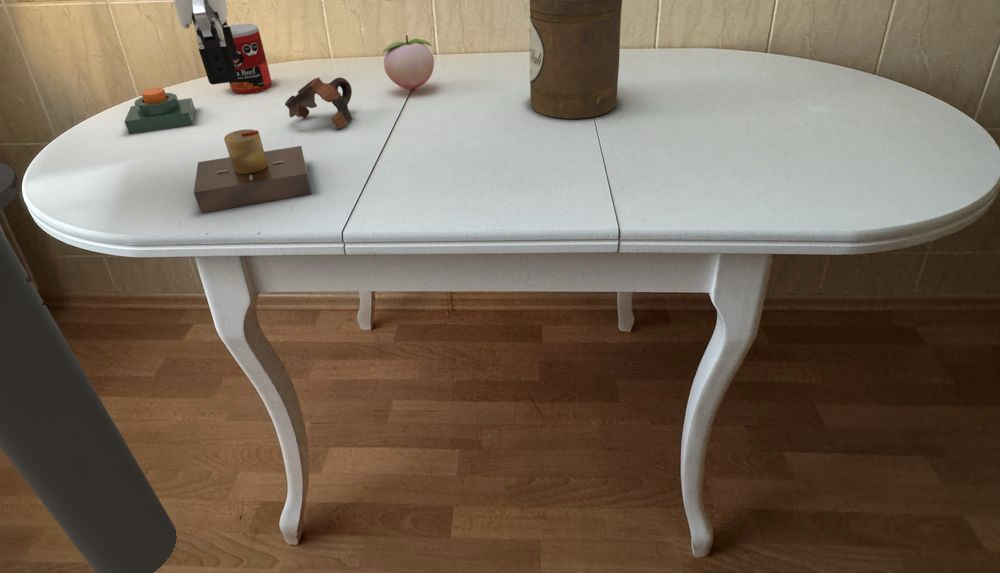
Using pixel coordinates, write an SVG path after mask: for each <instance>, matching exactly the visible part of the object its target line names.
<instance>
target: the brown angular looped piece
mask: <svg viewBox="0 0 1000 573" xmlns="http://www.w3.org/2000/svg"><path fill="white" fill-rule="evenodd" d="M339 88H341V92H342V94H341V92H339ZM352 90H353V88H352V86H351V84H350V82H349V81H348V80H347V79H346V78H344V77H336V78H334V79H333V80H331V81H330V82H328V83H327V82H323V81H322V80H321V78H320V77H315V78H313V79H311V80H310V81H309V82H308V83H306V84H305V85H303V87H301V88H300V89H299V90H298V91H297V94H296V95H295V94H294V95H293V94H292V95H291V96H290V97H289V98H288V99H286V101H285V103H284V106H286V107H287V109H288V111H289V112H288V114H289V118H293V117H297V118H302V119H307V118H308V116H309V114H310V110H309V109H308V108H310V109H315V108H316V107H318V105H317V103H316V99H315V98H316V97H315V96H316V95H317V96H319V97H320V98H321V100H323V101H325V102H327V103H331V104H332V105H334V107H335V108H336V110H337V112H336V113H335V114H333V116H331V119H330V120H331V121H332V122H333V123H334V124H335V126H336V128H337V130H341V129H342V128H344V127H345V126H346V125H347V124H348V123H349V122H350V121H351V120H352V119H353V117H352V115H351V113H350V110H349V106H348V105H349V103H350V101H351V98H352V95H353V94H352V93H353V91H352Z"/></svg>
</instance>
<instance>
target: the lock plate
mask: <svg viewBox="0 0 1000 573" xmlns="http://www.w3.org/2000/svg"><path fill="white" fill-rule="evenodd" d="M264 153H265V156H266V160H267V164H268V165H267V167H266V168H265V169H263V170H261V171H259V172H256V173H251V174H239V173H236V172H235V171H234V170H233V166H232V163H231V160H230V157H229V156H228V157H222V158H215V159H209V160H203V161H198V162H197V166H196V175H195V182H194V188H193V195H194V197H195V198H194V199H195V200H196V203H197V205H198V209H199V211H200V213H201V214H205V213H212V212H216V211H223V210H227V209H232V208H238V207H240V208H241V207H244V206H249V205H256V204H262V203H268V202H274V201H279V200H285V199H290V198H296V197H302V196H307V195H312V188H311V184H310V183H311V182H310V179H309V178H310V177H309V172H308V169H307V165H306V164H307V163H306V160H305V155H304V150H303V148H302V145H297V146H291V147H285V148H279V149H272V150H271V149H270V150H266V151H265V150H264Z"/></svg>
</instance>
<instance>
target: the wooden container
mask: <svg viewBox="0 0 1000 573" xmlns="http://www.w3.org/2000/svg"><path fill="white" fill-rule="evenodd" d="M622 4H623V0H529V87H530V89H529V90H530V92H529V93H530V106H531V108H532V110H534V111H535V112H537V113H538V114H541V115H543V116H546V117H547V116H548V117H550V118H551V117H552V118H557V119H568V120H570V119H571V120H572V119H573V120H574V119H575V120H576V119H588V118H593V117H598V116H601V115H604V114H607V113H609V112H610V111H612V110H613V109H614V108H616V105H617V99H618V84H619V70H620V52H621V51H620V50H621V49H620V46H621V23H622V22H621V21H622V9H623V7H622V6H623V5H622Z"/></svg>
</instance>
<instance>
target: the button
mask: <svg viewBox="0 0 1000 573" xmlns="http://www.w3.org/2000/svg"><path fill="white" fill-rule="evenodd" d="M166 93H167V92H166V90H165V88H162V87H153V88H148V89H145V90H143V91H141V94H140V95H141V97H143V100H144V102H145V103H157V102H161V101H164V100H166V99H167V96H166Z"/></svg>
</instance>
